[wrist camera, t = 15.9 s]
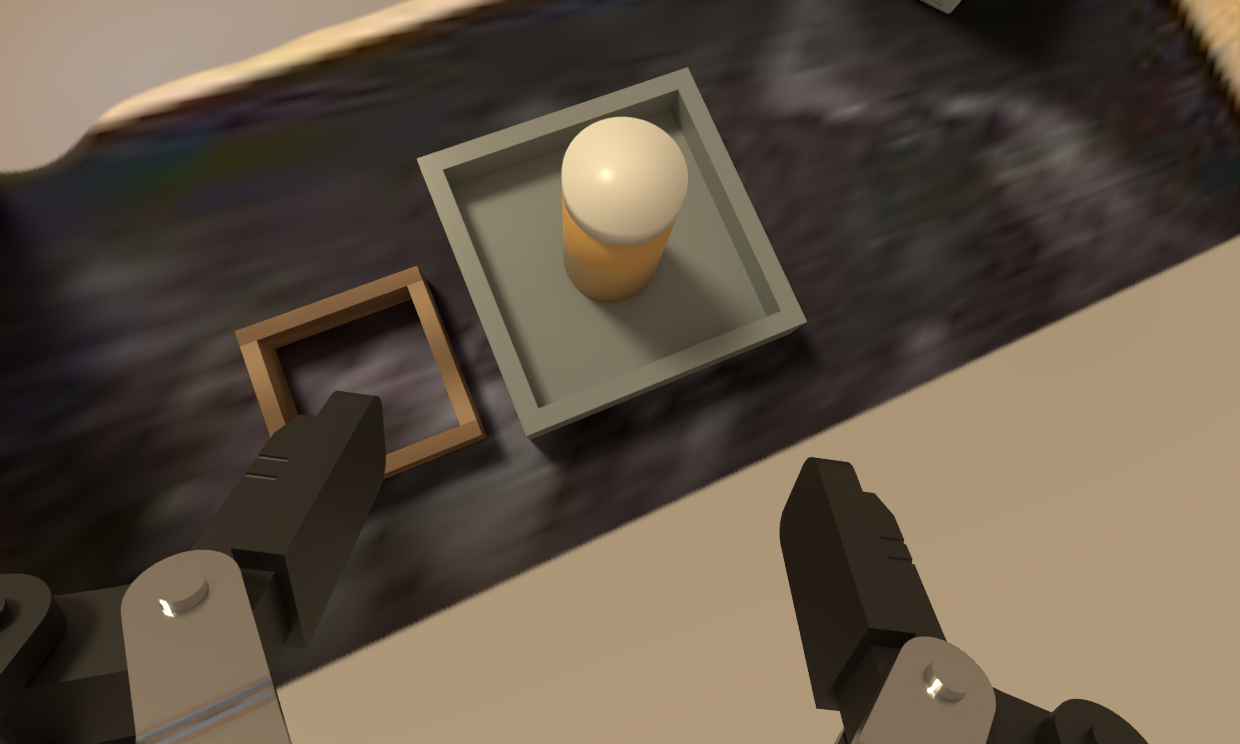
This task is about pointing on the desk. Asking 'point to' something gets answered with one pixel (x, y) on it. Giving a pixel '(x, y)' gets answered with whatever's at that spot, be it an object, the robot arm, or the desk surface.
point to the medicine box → (943, 4)
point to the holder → (345, 308)
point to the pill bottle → (619, 205)
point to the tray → (575, 323)
